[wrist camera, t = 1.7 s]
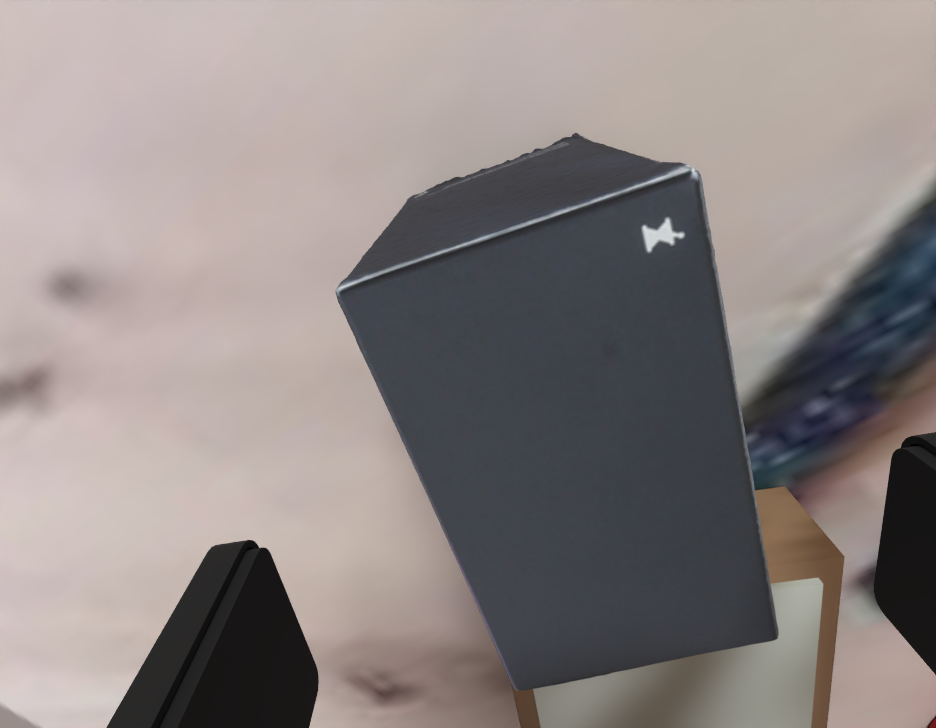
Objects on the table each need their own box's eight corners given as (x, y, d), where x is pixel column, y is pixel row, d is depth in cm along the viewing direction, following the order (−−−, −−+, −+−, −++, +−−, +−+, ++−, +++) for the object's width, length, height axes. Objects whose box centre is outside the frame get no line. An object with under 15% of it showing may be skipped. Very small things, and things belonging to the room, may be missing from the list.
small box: (391, 198, 19) (305, 282, 9) (584, 128, 18) (717, 138, 8) (492, 458, 23) (507, 711, 13) (654, 411, 22) (800, 644, 12)
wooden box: (784, 486, 23) (849, 563, 19) (775, 689, 28) (825, 785, 24) (490, 527, 24) (494, 608, 20) (529, 717, 28) (538, 814, 25)
